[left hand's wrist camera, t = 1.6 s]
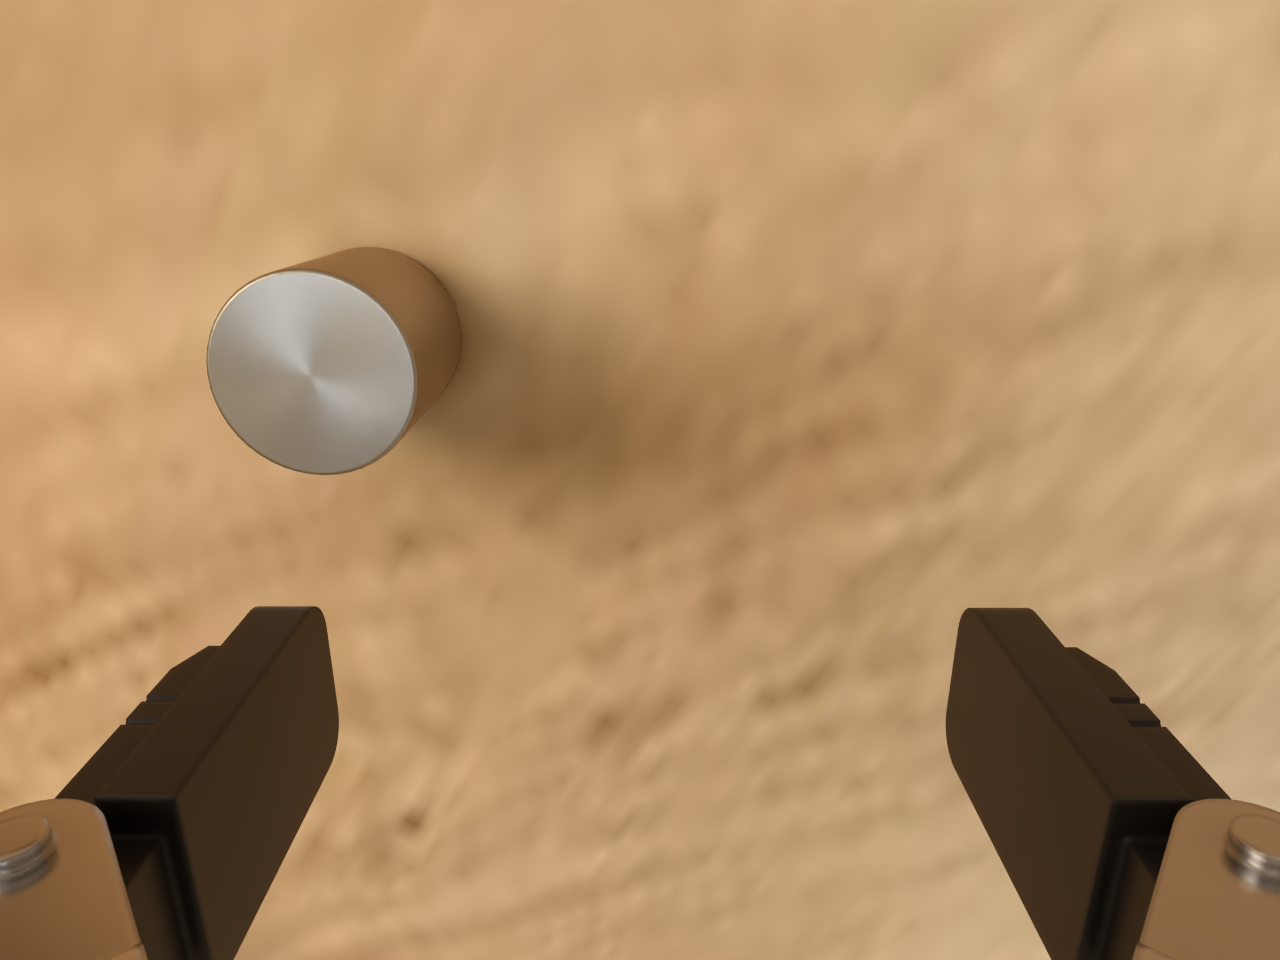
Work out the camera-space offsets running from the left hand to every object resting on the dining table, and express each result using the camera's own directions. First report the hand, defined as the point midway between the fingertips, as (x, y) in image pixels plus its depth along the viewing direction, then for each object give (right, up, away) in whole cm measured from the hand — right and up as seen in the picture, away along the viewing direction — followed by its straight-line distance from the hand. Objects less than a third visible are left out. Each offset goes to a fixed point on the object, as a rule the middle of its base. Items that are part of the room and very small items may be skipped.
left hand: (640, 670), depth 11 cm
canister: (-6, +6, +10) cm, 13 cm away
